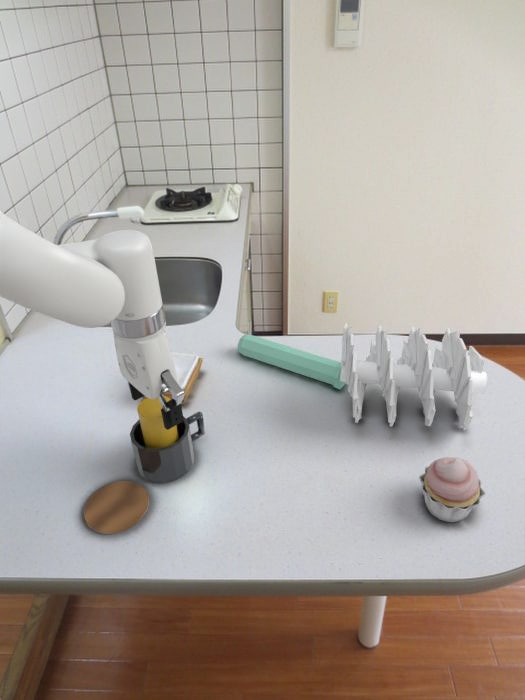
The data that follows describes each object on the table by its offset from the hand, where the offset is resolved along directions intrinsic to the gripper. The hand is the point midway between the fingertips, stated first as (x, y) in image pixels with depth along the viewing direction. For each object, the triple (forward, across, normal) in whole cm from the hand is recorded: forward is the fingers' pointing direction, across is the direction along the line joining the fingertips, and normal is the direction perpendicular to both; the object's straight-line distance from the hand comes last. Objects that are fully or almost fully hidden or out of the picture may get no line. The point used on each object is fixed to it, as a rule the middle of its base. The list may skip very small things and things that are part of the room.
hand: (157, 409), depth 84 cm
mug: (+12, 0, +1) cm, 12 cm away
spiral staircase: (+12, +21, +39) cm, 46 cm away
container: (+12, -5, +34) cm, 36 cm away
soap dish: (+12, -16, +12) cm, 24 cm away
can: (+11, 0, 0) cm, 11 cm away
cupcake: (+12, +38, +26) cm, 47 cm away
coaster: (+12, +3, -12) cm, 17 cm away
